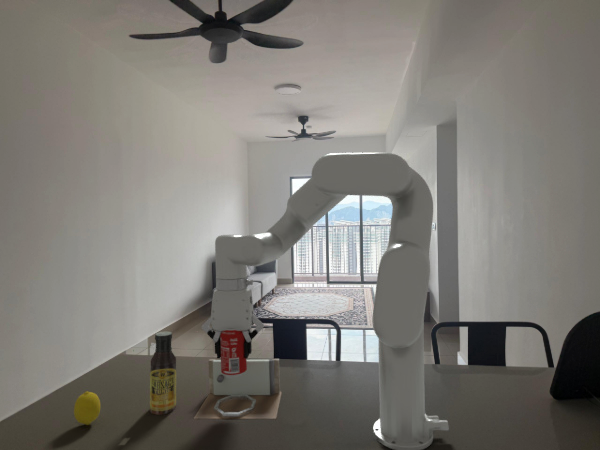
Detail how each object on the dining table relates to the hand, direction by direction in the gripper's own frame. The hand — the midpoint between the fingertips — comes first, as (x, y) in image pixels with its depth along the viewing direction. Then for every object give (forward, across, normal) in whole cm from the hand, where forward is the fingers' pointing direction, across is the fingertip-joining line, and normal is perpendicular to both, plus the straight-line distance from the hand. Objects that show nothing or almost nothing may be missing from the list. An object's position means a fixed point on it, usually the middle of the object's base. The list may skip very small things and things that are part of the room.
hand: (233, 355), depth 97 cm
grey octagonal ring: (+13, 0, 0) cm, 13 cm away
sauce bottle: (+14, +18, 0) cm, 23 cm away
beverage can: (+5, 0, 0) cm, 5 cm away
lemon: (+14, +34, +7) cm, 37 cm away
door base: (+14, -1, -1) cm, 14 cm away
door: (+13, -1, -6) cm, 14 cm away
